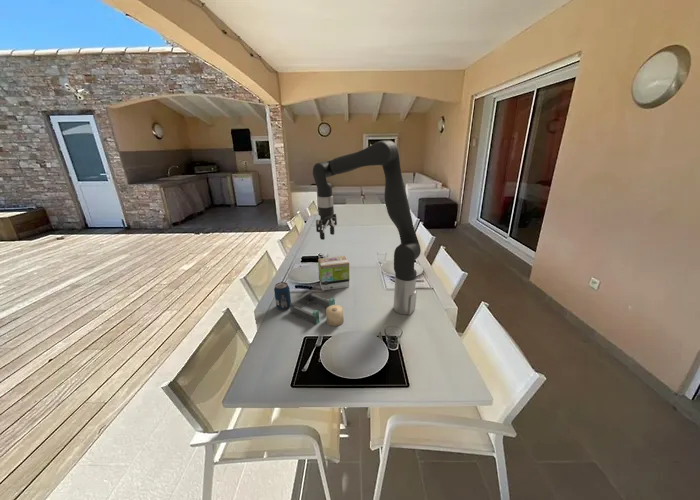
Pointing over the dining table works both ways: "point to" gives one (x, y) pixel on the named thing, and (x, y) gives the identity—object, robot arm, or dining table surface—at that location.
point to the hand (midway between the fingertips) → (327, 236)
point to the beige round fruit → (334, 315)
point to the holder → (303, 301)
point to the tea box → (333, 272)
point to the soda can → (282, 296)
